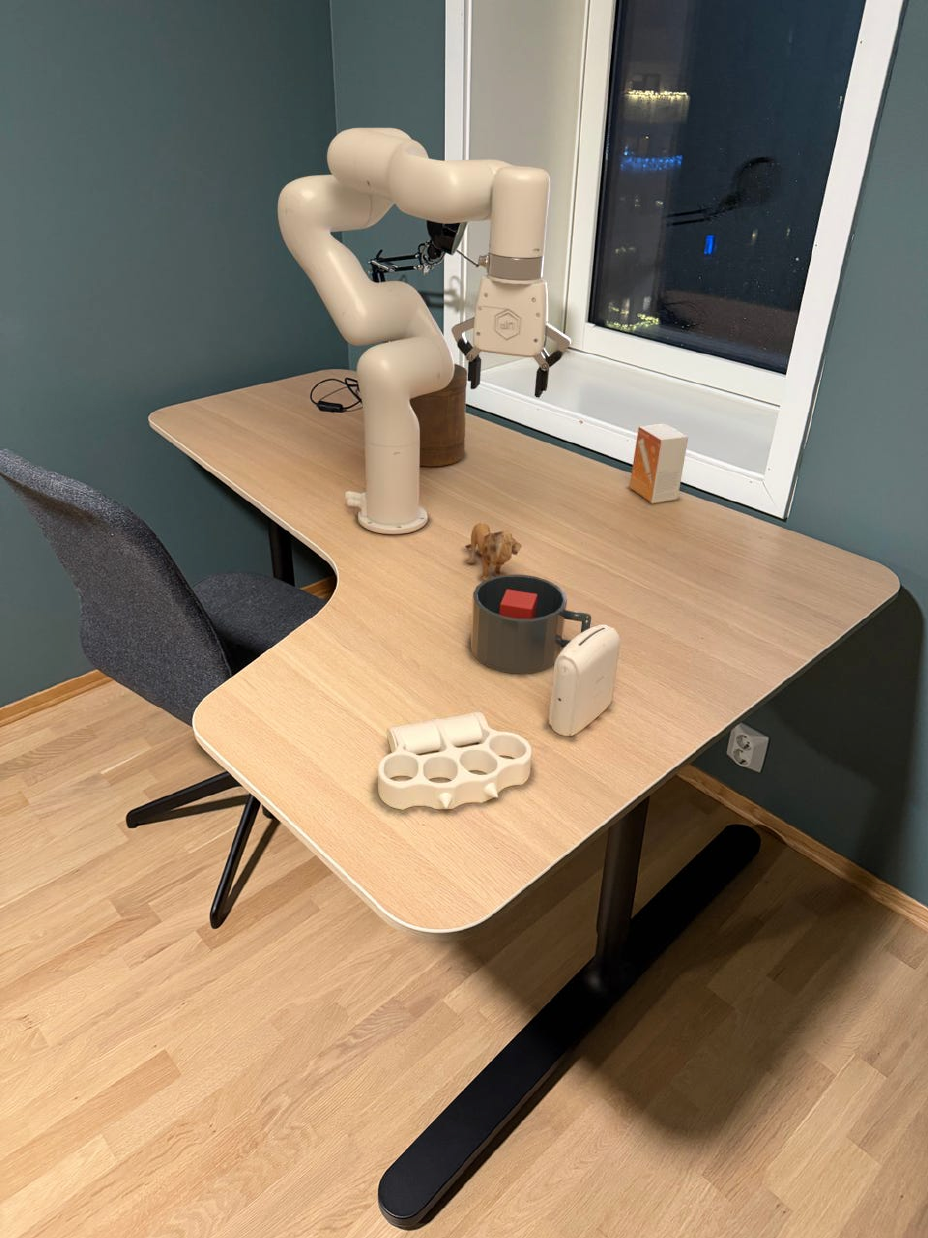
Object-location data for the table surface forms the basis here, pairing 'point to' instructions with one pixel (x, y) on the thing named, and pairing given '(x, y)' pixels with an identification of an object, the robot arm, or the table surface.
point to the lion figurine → (492, 548)
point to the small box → (658, 462)
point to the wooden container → (442, 421)
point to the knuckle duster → (451, 762)
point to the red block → (518, 605)
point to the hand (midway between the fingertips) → (506, 390)
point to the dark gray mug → (520, 625)
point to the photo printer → (584, 679)
